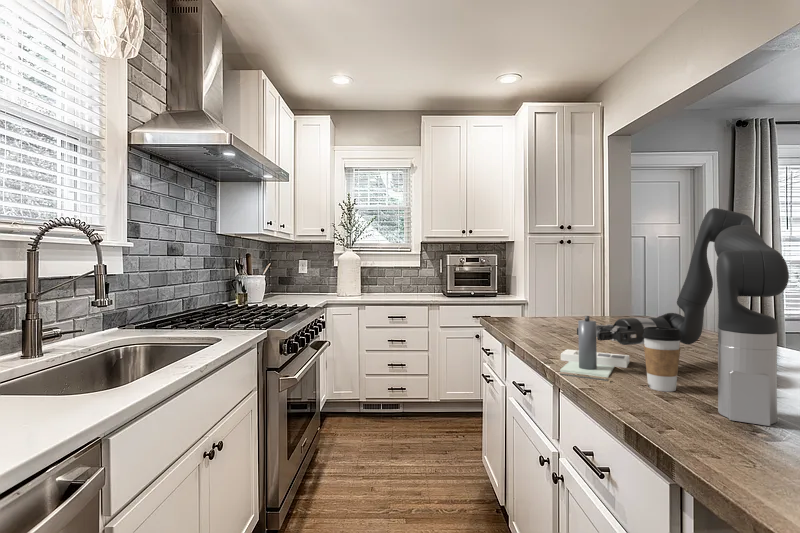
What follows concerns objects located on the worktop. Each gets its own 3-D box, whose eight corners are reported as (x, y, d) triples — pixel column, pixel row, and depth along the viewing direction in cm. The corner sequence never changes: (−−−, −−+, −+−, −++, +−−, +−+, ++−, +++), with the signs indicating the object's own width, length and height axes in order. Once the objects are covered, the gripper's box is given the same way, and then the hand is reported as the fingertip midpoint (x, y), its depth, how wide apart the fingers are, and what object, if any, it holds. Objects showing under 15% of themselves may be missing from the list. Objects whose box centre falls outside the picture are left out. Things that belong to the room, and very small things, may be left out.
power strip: (651, 373, 120) (650, 362, 120) (560, 363, 133) (560, 353, 133) (652, 367, 127) (652, 356, 127) (566, 358, 140) (566, 348, 140)
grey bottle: (595, 370, 119) (594, 317, 119) (577, 368, 121) (576, 316, 121) (598, 366, 123) (597, 315, 122) (580, 365, 125) (579, 314, 125)
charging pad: (608, 381, 114) (608, 375, 114) (560, 375, 120) (560, 369, 120) (614, 371, 124) (614, 366, 124) (569, 366, 130) (569, 361, 130)
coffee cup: (648, 392, 104) (648, 329, 104) (637, 382, 112) (637, 324, 112) (688, 394, 102) (687, 330, 102) (674, 384, 110) (674, 325, 110)
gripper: (616, 315, 133) (571, 317, 129) (655, 321, 119) (605, 323, 115) (616, 339, 133) (571, 342, 129) (655, 348, 119) (605, 352, 115)
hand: (587, 333), depth 122 cm, fingers open, 8 cm apart
